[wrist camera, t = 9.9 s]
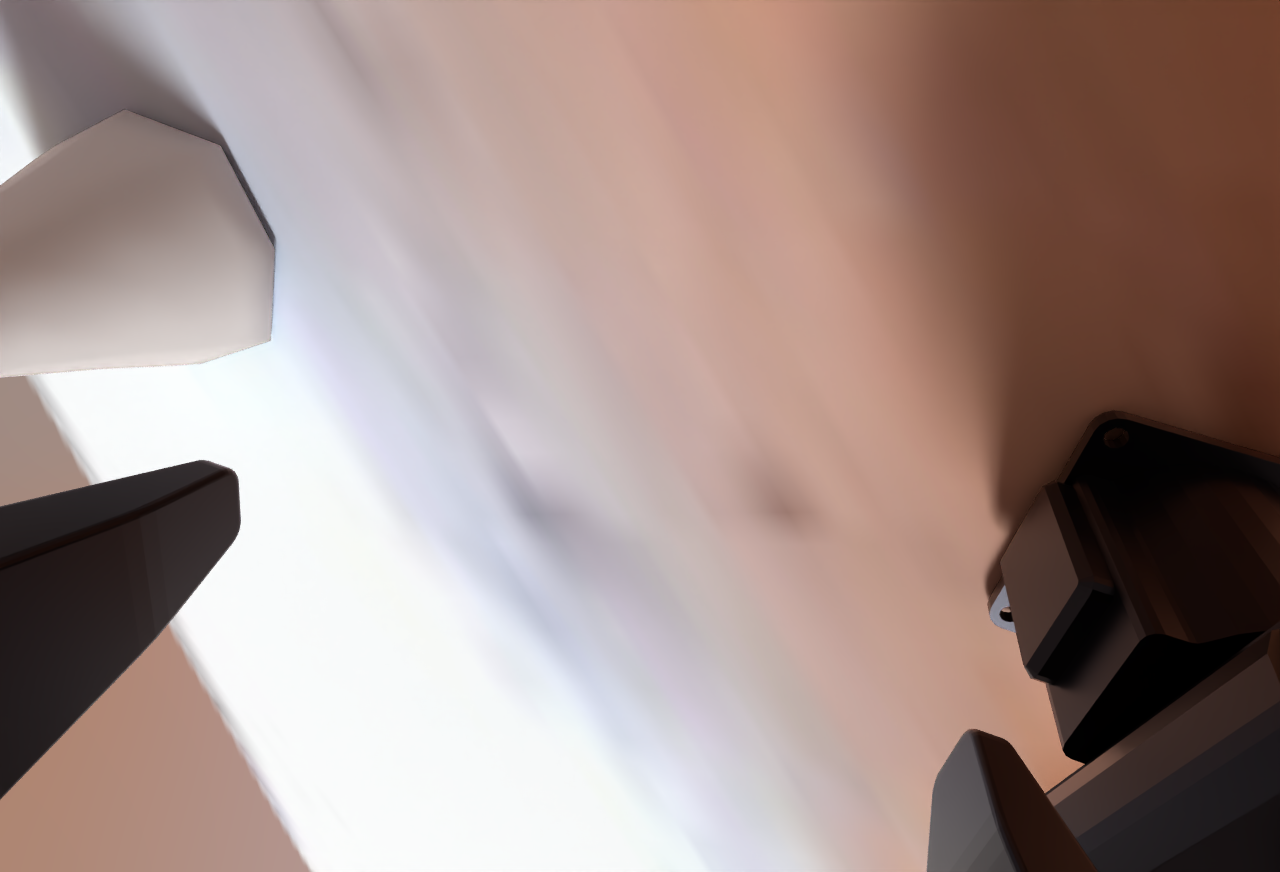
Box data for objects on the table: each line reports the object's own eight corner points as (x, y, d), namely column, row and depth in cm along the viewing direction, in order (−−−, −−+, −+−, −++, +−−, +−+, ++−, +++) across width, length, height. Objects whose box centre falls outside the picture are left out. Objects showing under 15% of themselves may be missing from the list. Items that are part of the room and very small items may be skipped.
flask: (26, 109, 22) (-504, 168, 14) (248, 107, 21) (-200, 171, 12) (113, 352, 26) (-270, 522, 17) (310, 368, 24) (-6, 565, 15)
